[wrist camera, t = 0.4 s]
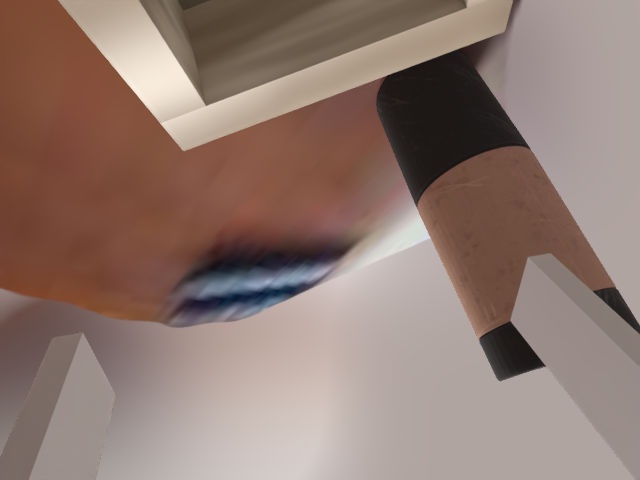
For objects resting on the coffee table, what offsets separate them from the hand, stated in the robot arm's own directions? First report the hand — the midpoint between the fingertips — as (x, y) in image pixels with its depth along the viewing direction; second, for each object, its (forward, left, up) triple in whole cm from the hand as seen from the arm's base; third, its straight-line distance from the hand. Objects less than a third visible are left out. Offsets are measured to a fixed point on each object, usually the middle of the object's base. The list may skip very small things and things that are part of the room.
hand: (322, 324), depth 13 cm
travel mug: (+13, +11, -17) cm, 24 cm away
